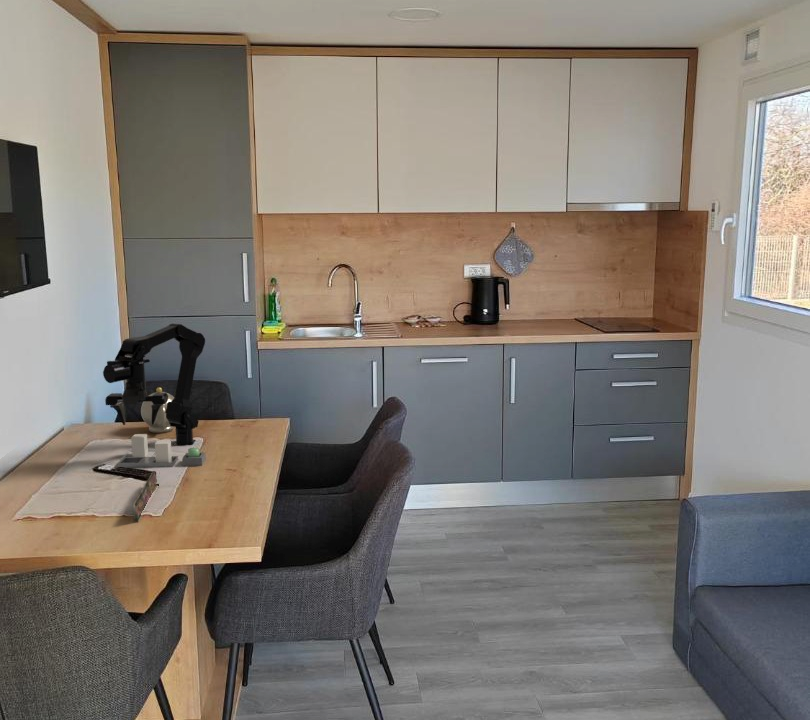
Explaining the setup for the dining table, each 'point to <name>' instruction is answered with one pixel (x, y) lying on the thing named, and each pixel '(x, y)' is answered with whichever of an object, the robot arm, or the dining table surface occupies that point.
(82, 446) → the dining table surface
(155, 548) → the dining table surface
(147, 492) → the incense holder
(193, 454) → the button
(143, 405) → the teapot
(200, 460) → the grey square tube
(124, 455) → the blue-grey square tray
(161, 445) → the seated billet
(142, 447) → the block
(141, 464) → the tray
